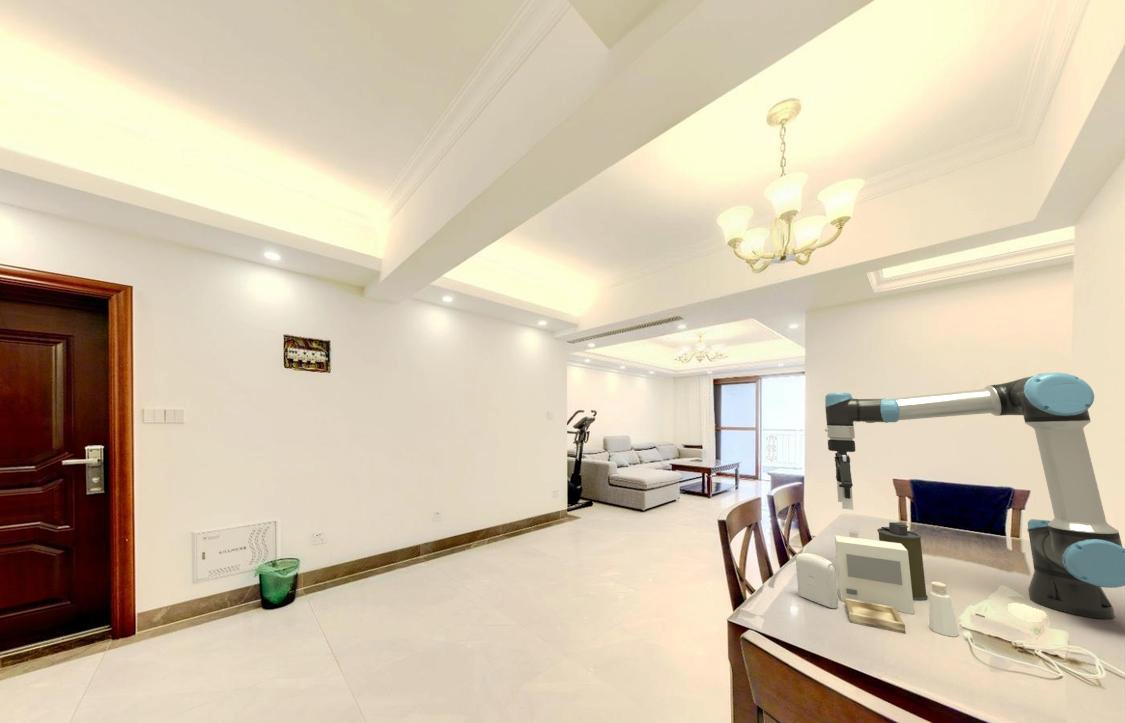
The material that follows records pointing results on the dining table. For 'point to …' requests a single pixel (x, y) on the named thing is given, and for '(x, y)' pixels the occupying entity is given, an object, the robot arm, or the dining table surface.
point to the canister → (913, 545)
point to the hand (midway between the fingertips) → (845, 505)
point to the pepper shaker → (941, 611)
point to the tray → (874, 615)
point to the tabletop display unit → (874, 572)
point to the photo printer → (817, 579)
